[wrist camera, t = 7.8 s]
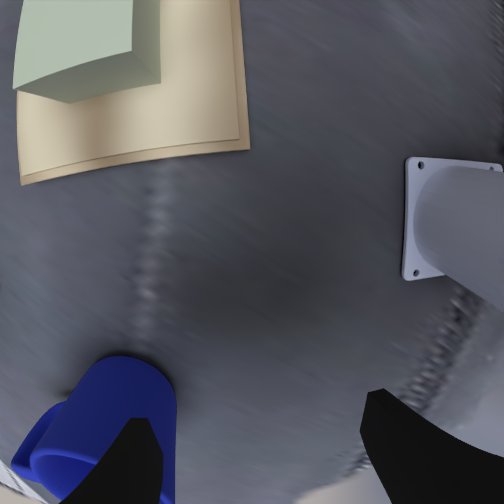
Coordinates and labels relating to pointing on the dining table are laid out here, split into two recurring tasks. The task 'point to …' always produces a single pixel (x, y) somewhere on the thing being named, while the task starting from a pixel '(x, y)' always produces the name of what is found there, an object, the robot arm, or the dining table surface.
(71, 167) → the plinth
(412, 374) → the dining table surface
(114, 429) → the mug
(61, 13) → the sage cube
